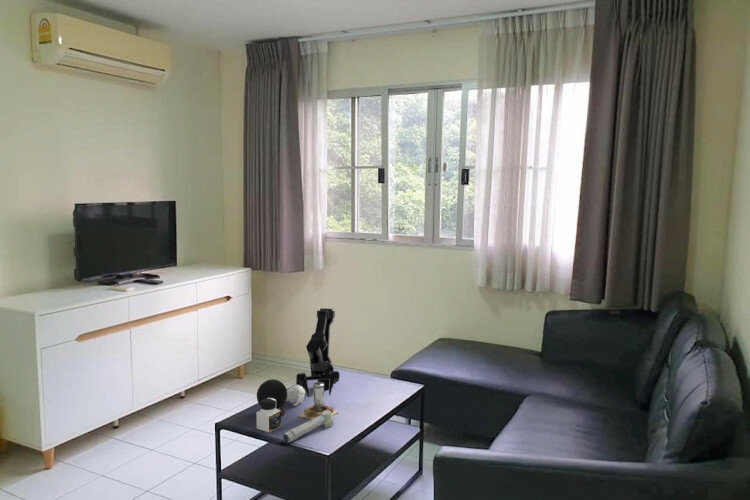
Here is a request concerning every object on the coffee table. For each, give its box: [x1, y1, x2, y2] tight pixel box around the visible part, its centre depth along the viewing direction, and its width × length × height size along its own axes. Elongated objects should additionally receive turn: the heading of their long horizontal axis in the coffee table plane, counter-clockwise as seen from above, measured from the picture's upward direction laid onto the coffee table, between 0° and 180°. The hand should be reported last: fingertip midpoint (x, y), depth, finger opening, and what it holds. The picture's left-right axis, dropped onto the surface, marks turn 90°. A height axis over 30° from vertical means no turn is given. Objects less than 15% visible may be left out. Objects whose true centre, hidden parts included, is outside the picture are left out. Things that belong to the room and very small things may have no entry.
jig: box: [299, 404, 339, 421], centre depth 235 cm, size 12×12×3 cm
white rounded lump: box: [286, 384, 306, 407], centre depth 248 cm, size 6×8×12 cm
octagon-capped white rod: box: [281, 410, 335, 444], centre depth 217 cm, size 5×7×25 cm
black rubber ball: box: [256, 379, 288, 418], centre depth 236 cm, size 13×13×15 cm
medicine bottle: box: [256, 398, 282, 433], centre depth 221 cm, size 7×7×12 cm
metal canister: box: [312, 381, 325, 412], centre depth 234 cm, size 5×5×13 cm
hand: (319, 396), depth 233 cm, fingers open, 9 cm apart
